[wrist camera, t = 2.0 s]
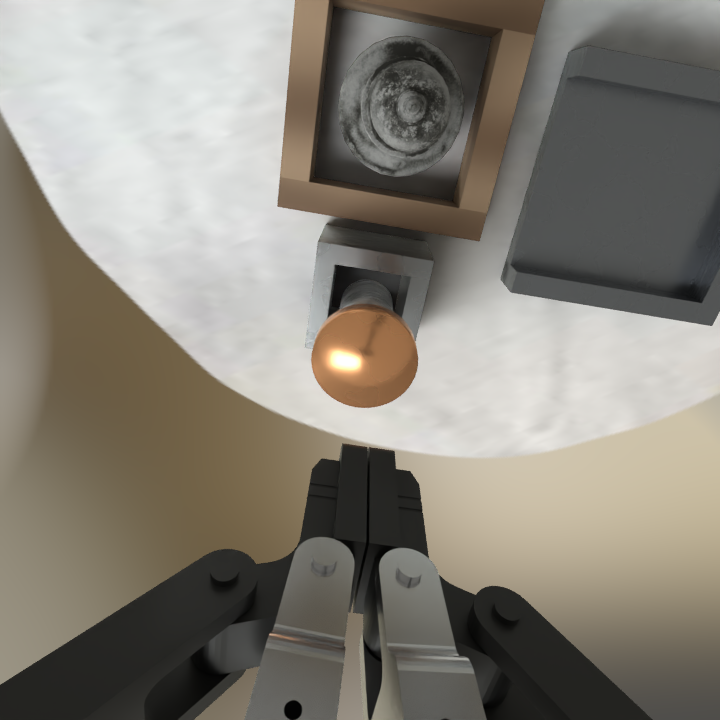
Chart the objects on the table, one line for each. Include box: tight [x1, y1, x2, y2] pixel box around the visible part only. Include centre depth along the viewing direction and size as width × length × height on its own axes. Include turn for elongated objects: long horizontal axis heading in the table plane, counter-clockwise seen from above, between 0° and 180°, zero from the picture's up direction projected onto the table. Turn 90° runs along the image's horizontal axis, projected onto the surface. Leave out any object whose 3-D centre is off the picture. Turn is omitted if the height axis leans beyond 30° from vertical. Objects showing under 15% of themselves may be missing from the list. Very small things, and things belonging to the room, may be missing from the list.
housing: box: [305, 224, 434, 349], centre depth 28 cm, size 6×6×4 cm
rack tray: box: [501, 46, 720, 326], centre depth 27 cm, size 12×12×2 cm
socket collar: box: [278, 0, 545, 241], centre depth 25 cm, size 11×11×2 cm
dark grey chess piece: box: [338, 36, 464, 177], centre depth 21 cm, size 6×6×12 cm
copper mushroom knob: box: [311, 279, 418, 408], centre depth 23 cm, size 4×4×7 cm
